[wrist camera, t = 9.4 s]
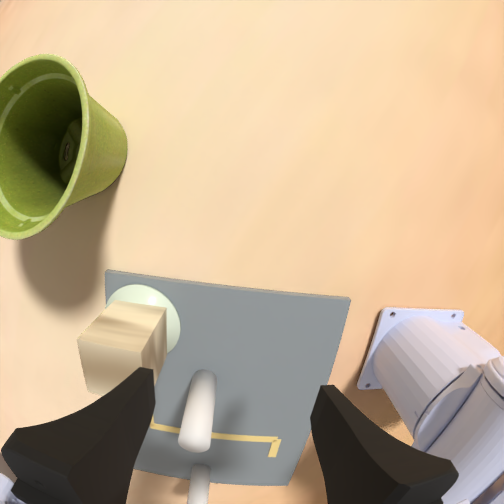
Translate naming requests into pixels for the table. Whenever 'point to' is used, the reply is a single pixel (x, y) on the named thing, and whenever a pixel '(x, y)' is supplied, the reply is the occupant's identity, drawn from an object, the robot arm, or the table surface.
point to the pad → (154, 298)
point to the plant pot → (51, 144)
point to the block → (122, 344)
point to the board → (237, 381)
